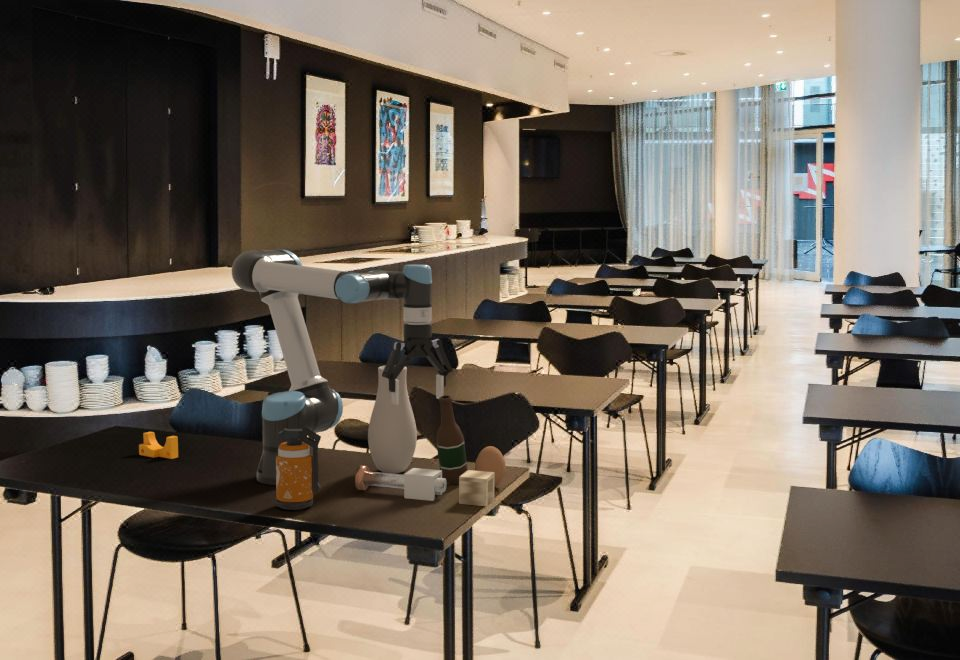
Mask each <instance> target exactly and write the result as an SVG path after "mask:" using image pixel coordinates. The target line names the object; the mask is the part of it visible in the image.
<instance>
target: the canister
mask: <svg viewBox="0 0 960 660" xmlns="http://www.w3.org/2000/svg"><path fill="white" fill-rule="evenodd" d="M283 435H284V440H288V441H287V442H284V443H281V444H280V445H279V447H278V456H277V457H276V485H275V486H276V487H275V488H276V496H275V497H276V506H277V507H278V508H281V509H283V510H286V511H299V510H304V509H307V508H309V507H311V506H312V505H313V504H314V499H313V498H314V493H316V492H317V491H318V490H320V489H321V486H322V485H321V484H320V482H319V457H320V455H319V453H320V451H319V444H320V441H321V438H322V436H321V435H319V434H318V433H314V432H313V431H311V430H310V429H308V428H306V427H304V428H303V429H288V428H284V430H283V431H280V432H279V433H278V436H279V437H282V436H283ZM311 448H312V454H311Z"/></svg>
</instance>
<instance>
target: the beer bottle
mask: <svg viewBox="0 0 960 660" xmlns="http://www.w3.org/2000/svg"><path fill="white" fill-rule="evenodd" d="M438 402H439V405H440V408H439V409H440V425H439V427H438V429H437V431H436V436H435V437H436V447H437V449H436V450H437V455H438V456H437V457H438V463H439V470H442V478H445V479H446V481H447V485H455V484H459V477H460V476H461V475H462V474H463V473H465V472H466V471H467V470H469V469H468V461H467V452H466V444H465V443H466V442H465V437H464V434H463V432H462V430H461V428H460V426H459V425H458V424H457V422H456V419H455V415H454V413H455V412H454V408H453V403H452V402H453V398H452V396H451V395H448V394H447V395H446V394H445V395H444V396H441V397H440V398H439V399H438Z"/></svg>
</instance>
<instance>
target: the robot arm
mask: <svg viewBox="0 0 960 660" xmlns="http://www.w3.org/2000/svg"><path fill="white" fill-rule="evenodd" d="M231 277H232V280H233V282H234V283H235V284H236V286H237V287H238V288H239V289H241V290H243V291H245V292H250V293H251V292H252V293H256V292H257V293H259V295H260V296H259V297H260V301H261V302H262V303H265V304H266V305H268V308H269V312H270V315H271V319H272V322H273V325H274V328H275V329H274V330H275V332H276V336H277V339H278V343H279V347H280V350H281V353H282V357H283V360H284V363H285V367H286V370H287V373H288V377H289V380H290V384H291V386H290V388H289V389H288V390H287V391H283V392H282V391H281V392H280V391H279V392H274V393H272V394H269V395H267V396H266V397H265V398H264V400H263V401H262V406H261V407H262V409H261V420H262V421H261V422H262V423H261V424H262V426H261V427H262V454H261V457H260V460H259V463H258V466H257V470H256V481H257V482H258V483H261V484H264V485H269V486H276V457H277V456H278V447H279V445H280V444H281V443H284V442H287V441H288V440H284V435H283V436H282V437H279V436H278V433H279V432H280V431H283V430H284V428H288V429H303V428H304V427H306V428H308V429H310V430H311V431H313V432H314V433H316V434H318V433H321V432H326V431H328V430H329V429H332V428H334V427H335V426H337V425H338V423H339V422H340V420H341V417H342V416H343V413H344V412H343V411H344V405H343V404H344V403H343V400H342V398H341V395H340V394H339V392H336V390H335V389H333V388H330V384H329V380H328V379H326V378H324V377H323V376H322V375H321V373H320V370H319V366H318V362H317V359H316V356H315V352H314V349H313V346H312V341H311V338H310V336H309V335H310V334H309V332H308V329H307V325H306V322H305V318H304V315H303V311H302V307H301V303H300V301H299V295H305V296H306V295H307V296H314V297H321V298H327V299H328V298H329V299H333V300H334V299H335V300H340V301H341V302H343V303H346V304H359V303H365V302H372V301H380V300H399V301H401V300H402V301H403V302H402V303H403V322H404V324H403V339H404V340H403V342H397V341H393V343H392V350H391V352H390V355H389V357H388V359H387V362H386V364H385V365H384V366H385V368H384V371H383V373H382V377H385V378H388V380H389V391H390V392H392V403H393V404H396V405H399V380H397V379H396V378H397V377H398V375H399V374H400V373H401V371H402V370H403V368H404V367H407V364H408V363H409V362H410V360H412V359H418V358H423V359H424V358H426V359H427V361H428V362H429V363H430V364H431V365H432V367H433V368H434V369H435V371H437V373H438V374H436V375H435V395H436V397H435V398H436V399H438V400H439V398H440V397H441V396H445V395H444V393H445V392H444V388H445V387H446V386H447V376H448V375H449V373H453V367H452V365H451V363H450V361H449V359H448V356H447V354H446V351H445V350H444V346H443V341H442V339H439V338H435V339H433V340H432V336H433V331H432V330H433V325H432V323H431V322H432V319H433V314H432V312H433V311H432V310H433V309H432V307H433V306H432V305H433V304H432V299H433V297H432V295H433V294H432V293H433V291H432V290H433V288H432V287H433V278H432V268H431V266H430V265H428V264H415V263H414V264H405V265H404V266H403V270H402V271H394V270H393V271H391V270H390V271H389V270H382V269H378V270H377V269H376V270H370V271H367V272H351V271H344V270H336V269H331V268H329V269H328V268H321V267H313V266H307V265H305V266H304V265H303V264H302V262H301V260H300V259H299V257H298V256H297V255H296V254H295V253H293V252H292V251H290V250H286V249H281V248H273V249H260V250H259V249H258V250H257V249H254V250H247V251H244V252H242V253H241V254H239V255H238V256H236V258H235V259H234V261H233V263H232V267H231ZM432 347H433V348H434V350H435V352H436V354H437V357H438V359H439V360H438V359H437V358H436V356H435V355H434V353H433V352H432V350H431V349H432ZM403 349H404V351H403V352H402V354H401V351H402V350H403ZM400 355H401V356H400ZM399 357H400V358H399ZM439 361H440V362H439ZM394 366H395V367H394Z"/></svg>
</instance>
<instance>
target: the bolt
mask: <svg viewBox="0 0 960 660" xmlns="http://www.w3.org/2000/svg"><path fill="white" fill-rule="evenodd" d="M354 484H355V485H354V486H355V488H356V489H357V490H358V491H366V490H367V489H369V486H371V487H373V486H375V487H382V488H383V487H384V488H392V489H393V488H394V489H403V490H404V473H403V474H401V473H396V474H392V473H384V472H377V471H371V470H370V467H369V466H368V465H359V466H358V467H357V469H356V471H355V478H354ZM447 485H448V484H447V481H446V479H445V478H435V492H442V493H445V492H446V490H447Z"/></svg>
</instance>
